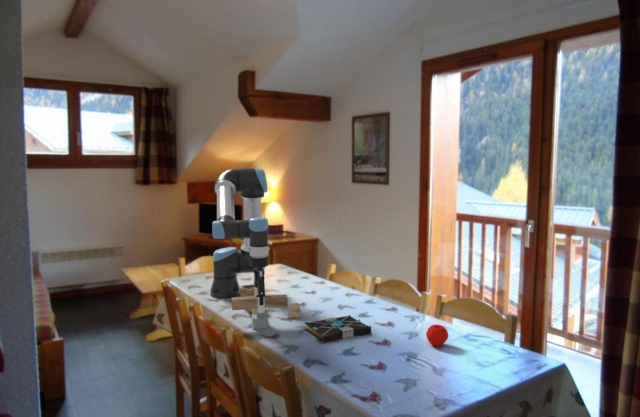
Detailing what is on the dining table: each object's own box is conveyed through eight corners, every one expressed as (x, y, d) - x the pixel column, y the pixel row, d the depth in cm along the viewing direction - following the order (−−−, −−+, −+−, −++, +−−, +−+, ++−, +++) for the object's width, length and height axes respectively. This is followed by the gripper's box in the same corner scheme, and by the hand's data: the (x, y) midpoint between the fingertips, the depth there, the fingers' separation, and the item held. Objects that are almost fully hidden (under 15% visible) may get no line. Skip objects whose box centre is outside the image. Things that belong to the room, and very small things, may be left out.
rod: (231, 307, 193) (231, 297, 193) (285, 303, 198) (285, 294, 198) (232, 310, 189) (232, 300, 189) (287, 306, 194) (287, 297, 194)
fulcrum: (251, 324, 197) (251, 305, 196) (266, 323, 198) (266, 304, 197) (253, 329, 191) (252, 309, 190) (268, 328, 192) (267, 308, 192)
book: (322, 344, 176) (322, 331, 175) (303, 330, 191) (303, 318, 190) (372, 335, 186) (372, 322, 185) (350, 322, 201) (350, 310, 200)
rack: (252, 317, 206) (252, 305, 206) (297, 313, 211) (297, 302, 210) (253, 320, 201) (253, 309, 201) (299, 317, 206) (299, 306, 205)
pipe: (246, 315, 208) (246, 293, 208) (236, 305, 223) (236, 284, 222) (266, 312, 212) (265, 290, 211) (255, 303, 227) (255, 282, 226)
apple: (444, 350, 169) (444, 330, 168) (422, 346, 173) (423, 326, 172) (450, 343, 176) (451, 324, 175) (429, 339, 180) (430, 320, 179)
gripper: (247, 250, 203) (247, 299, 205) (252, 263, 179) (253, 317, 181) (264, 250, 205) (265, 298, 207) (272, 262, 181) (272, 316, 183)
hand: (259, 307), depth 194 cm, fingers open, 13 cm apart
